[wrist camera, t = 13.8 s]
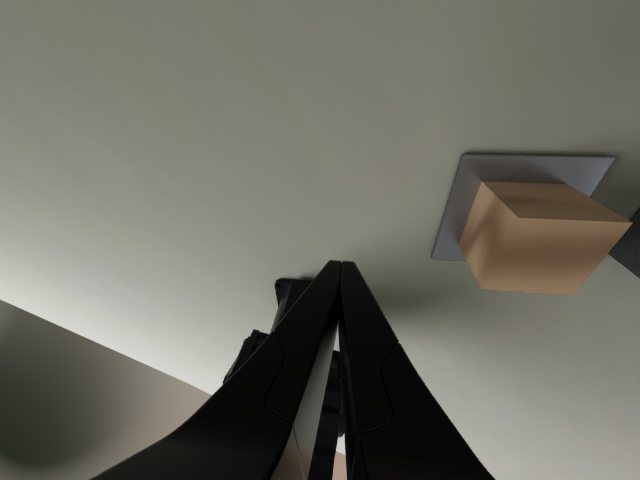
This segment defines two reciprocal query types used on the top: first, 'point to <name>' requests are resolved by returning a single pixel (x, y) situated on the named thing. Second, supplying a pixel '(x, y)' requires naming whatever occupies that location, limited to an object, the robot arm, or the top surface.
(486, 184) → the light brown cube-like block
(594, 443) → the top surface
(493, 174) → the plate
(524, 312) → the top surface
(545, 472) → the top surface
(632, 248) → the press block
